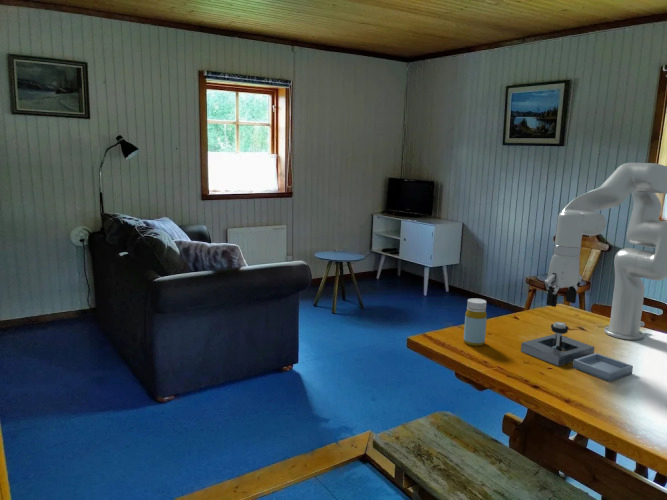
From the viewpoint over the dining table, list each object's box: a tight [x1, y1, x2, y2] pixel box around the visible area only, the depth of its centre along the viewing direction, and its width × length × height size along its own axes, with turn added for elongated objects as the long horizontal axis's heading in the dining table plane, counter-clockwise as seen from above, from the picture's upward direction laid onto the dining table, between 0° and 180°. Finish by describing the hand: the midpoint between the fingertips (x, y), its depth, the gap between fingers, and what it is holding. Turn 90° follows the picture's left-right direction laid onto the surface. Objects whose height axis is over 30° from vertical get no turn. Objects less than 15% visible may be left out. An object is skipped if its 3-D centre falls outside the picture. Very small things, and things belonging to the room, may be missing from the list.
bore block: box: [520, 333, 595, 367], centre depth 169 cm, size 18×14×3 cm
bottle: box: [463, 297, 488, 347], centre depth 176 cm, size 7×7×15 cm
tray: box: [572, 352, 634, 383], centre depth 156 cm, size 12×12×2 cm
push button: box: [550, 321, 570, 352], centre depth 169 cm, size 7×5×10 cm
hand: (560, 303), depth 166 cm, fingers open, 9 cm apart
